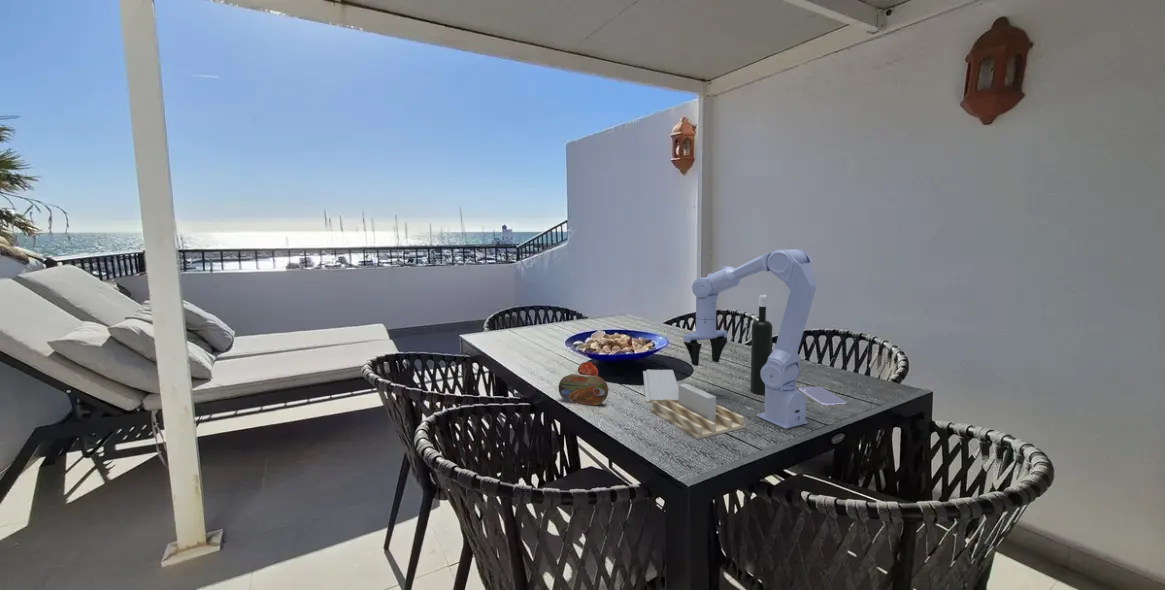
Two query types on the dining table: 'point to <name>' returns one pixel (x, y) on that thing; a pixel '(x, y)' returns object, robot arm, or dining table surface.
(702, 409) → the gray rectangular block
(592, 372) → the pomegranate
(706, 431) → the rack
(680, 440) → the dining table surface
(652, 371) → the baseboard molding
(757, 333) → the wine bottle
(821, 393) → the mobile phone
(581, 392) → the tin
